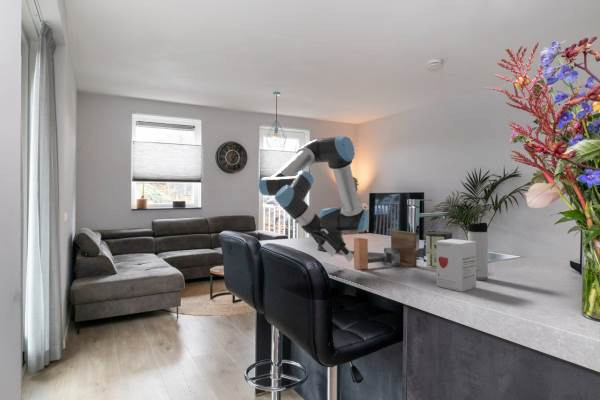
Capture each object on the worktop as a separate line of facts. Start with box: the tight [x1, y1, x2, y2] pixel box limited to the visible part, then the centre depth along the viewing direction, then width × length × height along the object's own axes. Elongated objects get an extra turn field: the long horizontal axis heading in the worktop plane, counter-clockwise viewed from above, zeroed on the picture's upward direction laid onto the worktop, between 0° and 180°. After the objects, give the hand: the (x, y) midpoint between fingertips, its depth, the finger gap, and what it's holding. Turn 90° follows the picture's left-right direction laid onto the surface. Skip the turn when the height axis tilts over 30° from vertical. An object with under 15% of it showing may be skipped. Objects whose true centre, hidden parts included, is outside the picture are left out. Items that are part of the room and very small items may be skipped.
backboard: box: [390, 229, 418, 269], centre depth 155 cm, size 5×14×14 cm, turn 24°
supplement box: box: [436, 238, 477, 292], centre depth 116 cm, size 9×9×15 cm
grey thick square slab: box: [383, 247, 401, 268], centre depth 153 cm, size 3×7×7 cm, turn 24°
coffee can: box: [425, 231, 453, 269], centre depth 149 cm, size 10×10×14 cm
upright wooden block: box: [353, 237, 386, 271], centre depth 148 cm, size 14×4×12 cm, turn 114°
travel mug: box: [467, 222, 489, 281], centre depth 127 cm, size 6×7×20 cm
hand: (342, 256), depth 143 cm, fingers open, 13 cm apart
